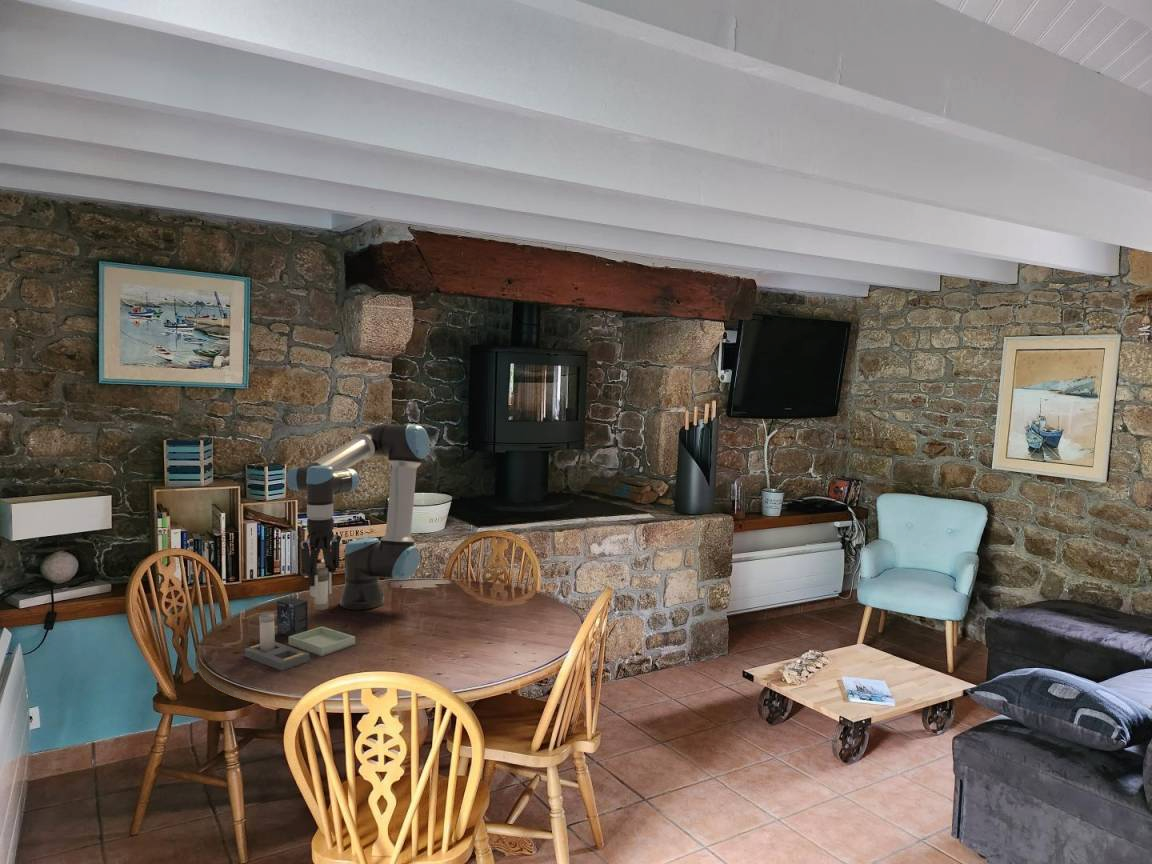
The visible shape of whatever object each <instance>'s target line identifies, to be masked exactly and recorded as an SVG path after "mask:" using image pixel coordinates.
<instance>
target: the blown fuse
mask: <svg viewBox="0 0 1152 864" xmlns="http://www.w3.org/2000/svg"><path fill="white" fill-rule="evenodd" d="M315 575H318V597H313V609H314V611H315V610H316V611H323V610H327V609H329V594H328V568H327V567H325V566H319V567H318V566H317V568H316V574H315Z"/></svg>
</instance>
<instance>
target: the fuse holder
mask: <svg viewBox="0 0 1152 864" xmlns="http://www.w3.org/2000/svg"><path fill="white" fill-rule="evenodd" d="M243 652H244V655H243V657H245V658H247V659H250V660H252V661H255V662H258V663H261V664H262V665H266V666H268V667H271V668H274V669H276V670H279V671H281V672H282V671H284V670H288V669H290V668H291V669H292V668H293V667H296V666H299V665H303V664H305V663H308V662H310V661H311V660H310V659H311V658H310V656H311V655H310V652H307V651H305V650H304V651H303V650H302V649H299V648H296V647H295V648H294V647H293V646H290V645H286V644H283V643H281V642H278V641H275V649H274V650H270V651H267V652H263V651H260V643H258V644H254V645H252V646H249V647H247V648H244V649H243Z"/></svg>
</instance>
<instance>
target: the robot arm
mask: <svg viewBox="0 0 1152 864" xmlns="http://www.w3.org/2000/svg"><path fill="white" fill-rule="evenodd" d="M430 447H431V444H430V437H429V435H428V432H427V430H426V429H425V428H424V427H423V426H420V425H417V424H415V425H414V424H396V423H395V424H393V423H391V424H390V423H382V424H378V425H375V426H371V427H369V428H367V429H365V430H362V431H361V432H358V433H357V434H355V435H354V436H353V437H352V438H351V440H350V441H349V442H347V443H344V444H343V445H341V446H339V447H337V448H336V449H334V450H332V451H330V452H328V453H327V454H326V455H323V456H321V457H320V458H317V460H315V461H312V462H311V463H309V464H307V465H305V466H293V467H291V468H290V469H289V470H288V471H287V473H286V476H285V477H286V479H285V481H286V485H287V487H288V488H289V489H290V490H293V491H299V492H306V497H307V498H306V516H307V520H306V529H307V530H306V531H307V536H306V539H305V540H303V541H299V542H298V545H299V547H300V548H299V549H300V556H301V562H300V564H301V573H302V575H306V576H307V579H308V580H307V583H308V586H309V590H310V591H309V595H310V597H312V598H314V597H318V575H315V574H316V568H317V567H318V562H319V554H320V553H321V551H322V555H323V561H324V567H327V568H328V595H329V594H332V592H333V591H332V588H333V586H332V583H333V581H334V572H336V570H337V569H339V567H340V544H341V540H342V536H341V535H339V534H338V535H336V534H335V533H334V531H333V530H334V518H333V516H334V512H335V511H334V496H335V495H336V496H337V495H342V494H348V493H350V492H353V491H355V490H356V489H357V488H358V486H359V484H360V477H359V474H358V472H357V471H356V470H355V469H353V468H351V467H352V466H355V465H356V464H357V463H359V462H361V461H362V460H364V461H365V460H369V459H372V458H373V457H387V458H388V459H387V462H388V463H389V464H390V465H391V471H390V472H391V473H390V474H391V475H390V484H389V495H388V496H389V497H388V504H387V506H388V507H387V514H386V515H387V516H386V528H385V534H384V535H383V536H382V537H381V538H380V540H379V538H377V537H363V538H359V539H354V540H351V541H348V542H346V544H345V545H344V554H343V555H344V580H345V581H344V586H343V590H342V594H341V596H340V601H339V603H340V604H339V605H340V607H341V608H344V609H346V610H348V609H349V610H368V609H373V608H377V607H380V606H382V605H384V603H385V595H384V593H383V588H382V586H381V584H380V578H384V579H385V578H386V579H392V580H407V579H410V578H411V577H412V576H414V574H415V573H416V571H417V570H418V567H419V565H420V559H421V553H420V551H419V548H418V547H417V546H415V540H414V539H413V537H412V526H413V525H412V523H413V514H414V513H413V512H414V511H413V510H414V501H415V489H416V478H417V469H418V468H419V467H420V466H421V465H422V462H423V459H425V458H426V457H428V454H429V453H430Z"/></svg>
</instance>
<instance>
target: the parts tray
mask: <svg viewBox="0 0 1152 864" xmlns="http://www.w3.org/2000/svg"><path fill="white" fill-rule="evenodd" d="M287 638H288V639H287V640H288V646H290V647H293V648H294V647H295V648H296V649H299V650H302V651H303V650H304V652H307V653H311V654H315V655H317V656H320V657H323V656H326V655H329V654H332V653H334V652H338V651H341V650H344V649H347V648H350V647H353V646H356V636H354V635H351V634H347V633H345V632H342V631H338V630H335V629H332V628H328V627H325V626H318V627H315V628H312V629H308V631H305V632H302V633H299V634H295V635H292V636H287Z"/></svg>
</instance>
